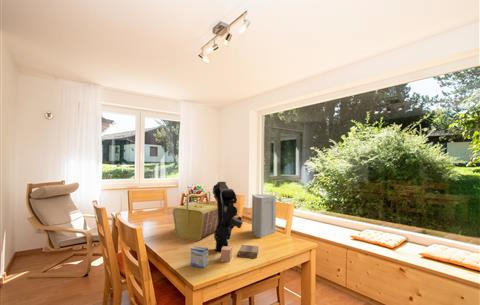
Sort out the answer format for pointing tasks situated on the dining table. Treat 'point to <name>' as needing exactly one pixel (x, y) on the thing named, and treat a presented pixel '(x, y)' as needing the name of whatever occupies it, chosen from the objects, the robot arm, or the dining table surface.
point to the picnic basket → (195, 219)
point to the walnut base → (248, 251)
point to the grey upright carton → (263, 214)
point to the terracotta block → (226, 253)
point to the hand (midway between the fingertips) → (226, 241)
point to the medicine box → (199, 256)
